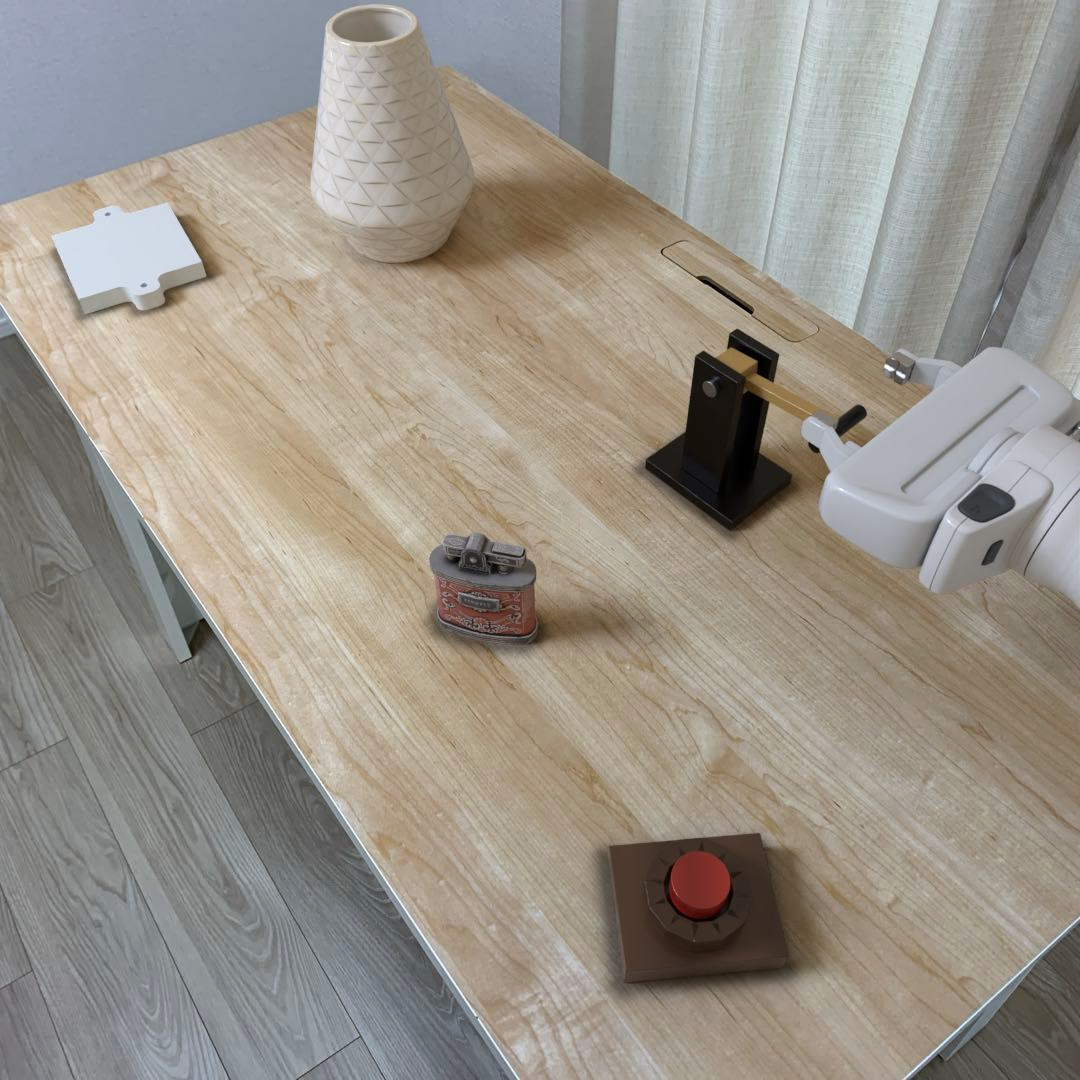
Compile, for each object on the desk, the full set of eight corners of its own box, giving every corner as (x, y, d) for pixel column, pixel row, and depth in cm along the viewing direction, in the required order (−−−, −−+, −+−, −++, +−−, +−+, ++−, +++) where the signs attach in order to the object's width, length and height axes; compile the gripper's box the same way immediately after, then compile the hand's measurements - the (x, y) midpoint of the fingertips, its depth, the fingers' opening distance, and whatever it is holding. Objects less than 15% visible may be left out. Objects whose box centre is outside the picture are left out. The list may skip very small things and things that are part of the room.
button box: (755, 846, 70) (764, 820, 67) (782, 968, 65) (793, 946, 62) (607, 859, 70) (609, 833, 67) (623, 983, 65) (626, 961, 62)
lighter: (432, 631, 82) (419, 550, 74) (445, 597, 84) (433, 515, 76) (532, 650, 81) (529, 570, 73) (542, 615, 83) (540, 534, 75)
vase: (444, 294, 110) (422, 79, 92) (294, 265, 113) (245, 53, 96) (499, 204, 120) (489, -4, 102) (360, 181, 124) (327, -25, 106)
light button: (720, 860, 66) (724, 848, 65) (732, 916, 64) (736, 905, 62) (664, 864, 66) (666, 853, 65) (673, 921, 64) (676, 911, 62)
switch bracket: (790, 484, 92) (820, 362, 81) (729, 531, 88) (752, 410, 78) (705, 425, 96) (723, 303, 86) (644, 468, 93) (655, 347, 82)
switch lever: (864, 427, 79) (869, 402, 78) (819, 462, 77) (823, 437, 75) (742, 361, 86) (744, 337, 84) (697, 392, 84) (698, 368, 82)
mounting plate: (52, 239, 117) (45, 224, 116) (166, 206, 121) (161, 191, 119) (90, 327, 107) (84, 312, 105) (213, 289, 111) (209, 274, 109)
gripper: (1127, 384, 69) (947, 291, 76) (951, 545, 60) (765, 424, 67) (1090, 451, 74) (923, 359, 81) (922, 610, 65) (751, 491, 72)
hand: (850, 390), depth 74 cm, fingers open, 8 cm apart
